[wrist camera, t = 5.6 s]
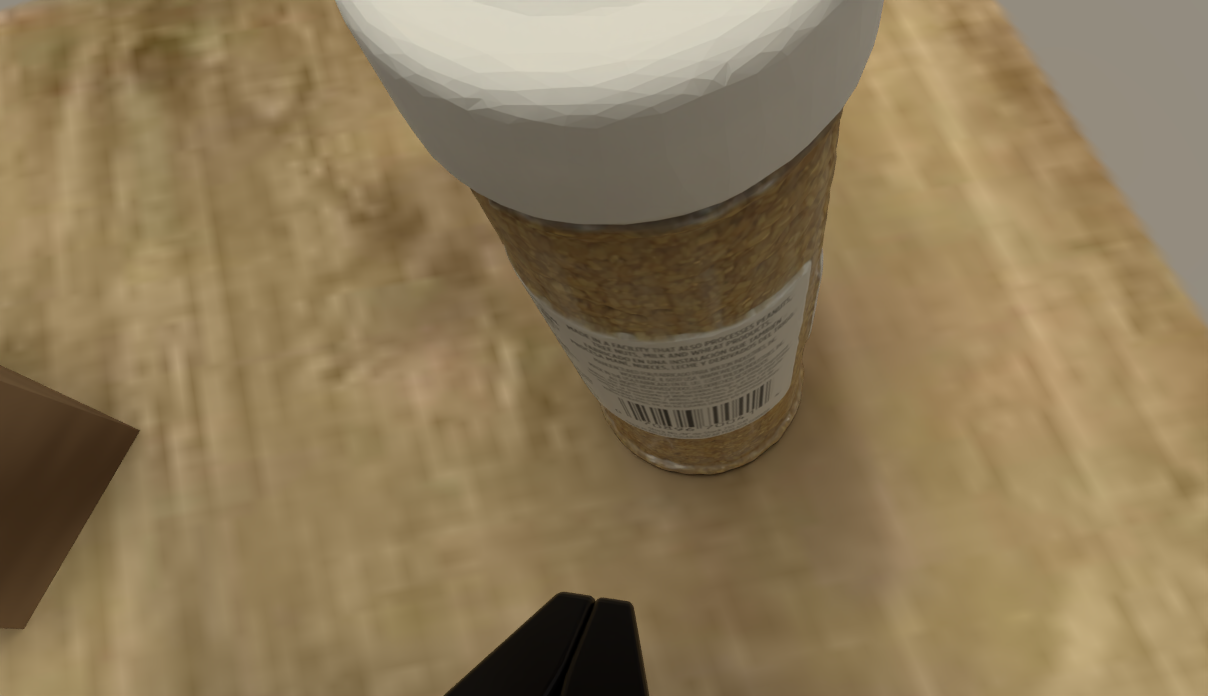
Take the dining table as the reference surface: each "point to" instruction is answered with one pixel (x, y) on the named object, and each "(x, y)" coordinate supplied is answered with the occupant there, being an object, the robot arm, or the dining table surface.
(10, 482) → the walnut block
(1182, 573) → the dining table surface
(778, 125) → the sprinkles bottle
